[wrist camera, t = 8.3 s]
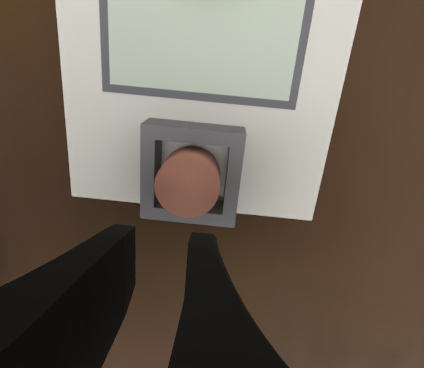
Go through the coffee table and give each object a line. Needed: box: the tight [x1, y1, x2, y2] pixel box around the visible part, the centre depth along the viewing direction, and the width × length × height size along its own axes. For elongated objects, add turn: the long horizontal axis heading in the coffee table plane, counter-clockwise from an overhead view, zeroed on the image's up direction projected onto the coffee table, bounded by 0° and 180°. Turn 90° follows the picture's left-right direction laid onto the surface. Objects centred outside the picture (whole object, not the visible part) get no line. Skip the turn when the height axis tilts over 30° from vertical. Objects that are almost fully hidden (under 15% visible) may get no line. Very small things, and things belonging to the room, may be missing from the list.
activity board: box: [55, 0, 363, 228], centre depth 14 cm, size 14×18×3 cm
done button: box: [154, 146, 221, 218], centre depth 15 cm, size 3×3×2 cm
